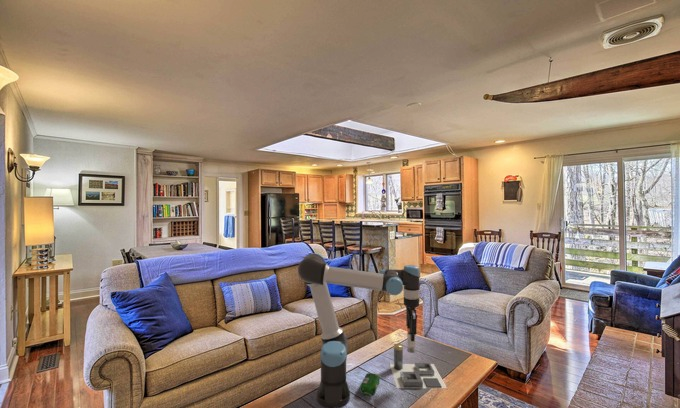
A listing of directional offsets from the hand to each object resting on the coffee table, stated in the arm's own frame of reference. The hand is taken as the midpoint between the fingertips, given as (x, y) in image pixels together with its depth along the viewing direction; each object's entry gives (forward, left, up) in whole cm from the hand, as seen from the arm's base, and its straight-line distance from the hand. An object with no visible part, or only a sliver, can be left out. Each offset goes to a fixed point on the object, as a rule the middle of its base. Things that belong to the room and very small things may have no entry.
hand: (411, 344), depth 154 cm
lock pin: (0, 0, -3) cm, 3 cm away
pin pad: (+10, -1, -19) cm, 21 cm away
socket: (+9, +10, -19) cm, 23 cm away
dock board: (+4, +6, -19) cm, 21 cm away
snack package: (-20, -5, -20) cm, 29 cm away
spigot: (-4, +13, -19) cm, 23 cm away
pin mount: (0, 0, -19) cm, 19 cm away
